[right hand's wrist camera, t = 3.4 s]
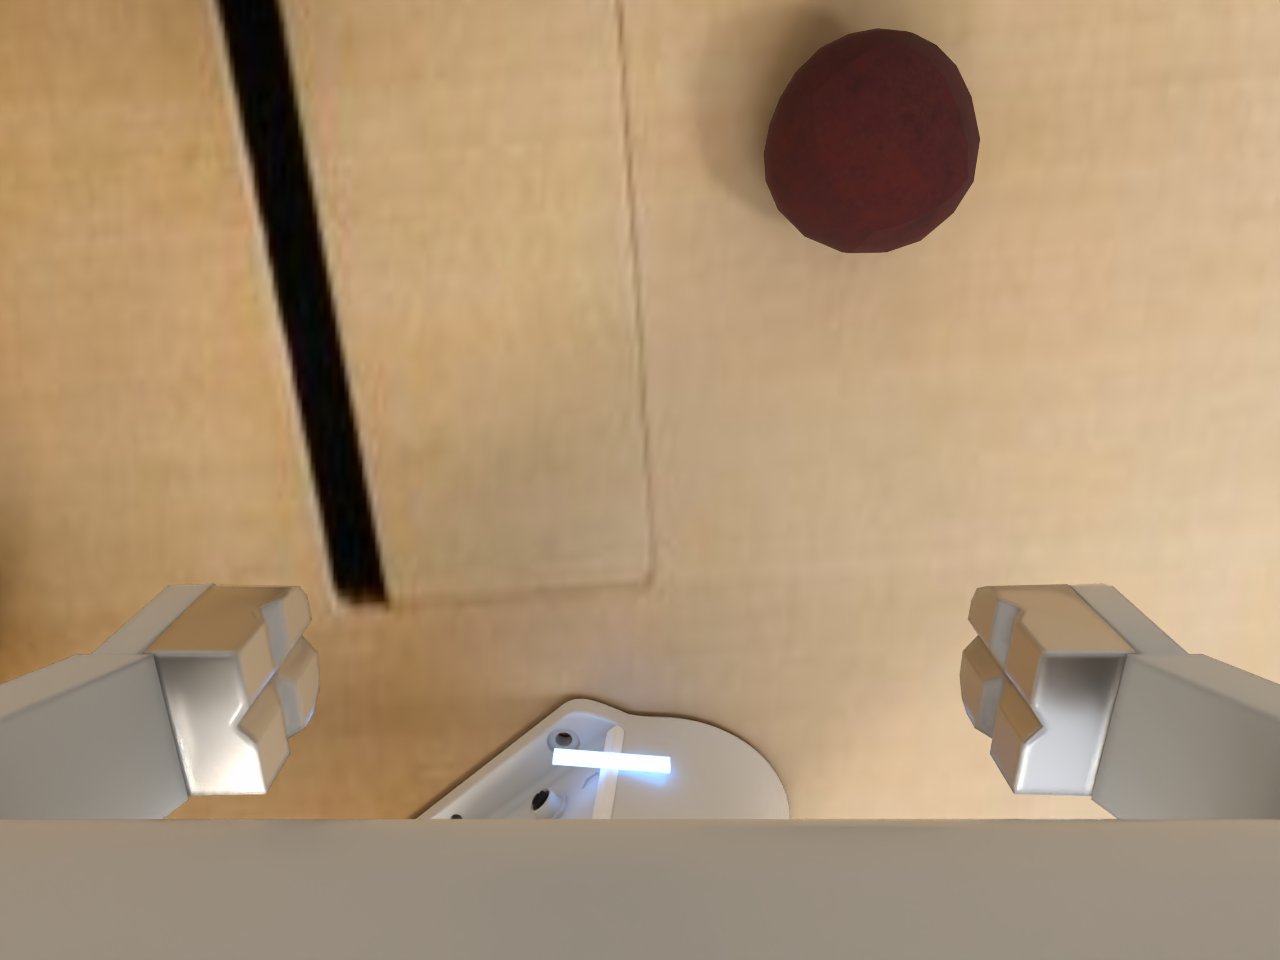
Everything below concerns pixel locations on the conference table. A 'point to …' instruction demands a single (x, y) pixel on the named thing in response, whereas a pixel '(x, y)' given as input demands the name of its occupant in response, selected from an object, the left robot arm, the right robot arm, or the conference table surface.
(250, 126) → the conference table surface
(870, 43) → the potato
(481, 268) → the conference table surface
